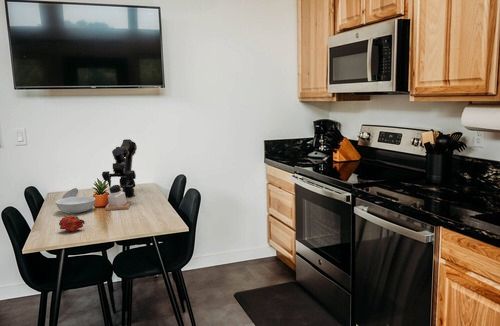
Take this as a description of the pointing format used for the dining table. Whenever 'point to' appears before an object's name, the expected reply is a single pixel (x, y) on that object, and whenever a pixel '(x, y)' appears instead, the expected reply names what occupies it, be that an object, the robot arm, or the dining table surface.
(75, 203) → the serving bowl
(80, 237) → the dining table surface
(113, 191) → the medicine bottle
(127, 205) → the terracotta tray
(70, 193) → the grey rounded lump
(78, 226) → the dragon fruit
